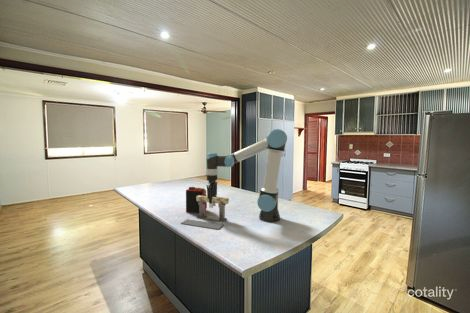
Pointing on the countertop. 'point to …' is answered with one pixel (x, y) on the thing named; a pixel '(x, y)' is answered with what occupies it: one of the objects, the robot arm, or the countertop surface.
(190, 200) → the red coffee machine
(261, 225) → the countertop surface
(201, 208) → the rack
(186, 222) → the mat
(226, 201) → the rail
